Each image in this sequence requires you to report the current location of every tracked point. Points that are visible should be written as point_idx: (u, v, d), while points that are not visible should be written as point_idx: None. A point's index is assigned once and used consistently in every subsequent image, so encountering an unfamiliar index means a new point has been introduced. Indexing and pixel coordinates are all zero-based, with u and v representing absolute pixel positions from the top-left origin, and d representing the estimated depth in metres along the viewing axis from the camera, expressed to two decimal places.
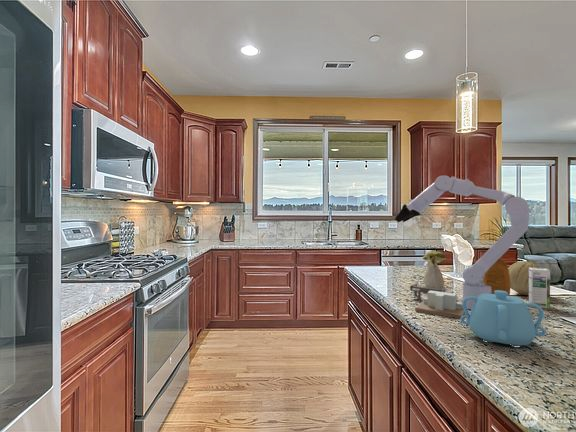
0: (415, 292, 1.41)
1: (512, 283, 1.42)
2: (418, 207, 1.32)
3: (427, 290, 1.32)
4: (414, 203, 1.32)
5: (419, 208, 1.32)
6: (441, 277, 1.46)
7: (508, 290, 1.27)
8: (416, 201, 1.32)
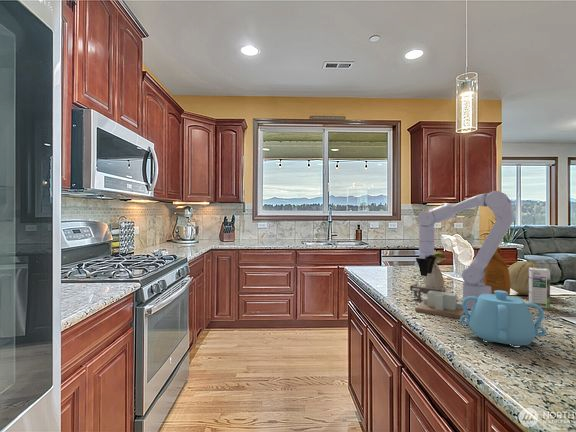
0: (415, 292, 1.41)
1: (512, 283, 1.42)
2: (428, 251, 1.30)
3: (427, 290, 1.32)
4: (422, 251, 1.32)
5: (430, 251, 1.30)
6: (441, 277, 1.46)
7: (508, 290, 1.27)
8: (422, 248, 1.32)
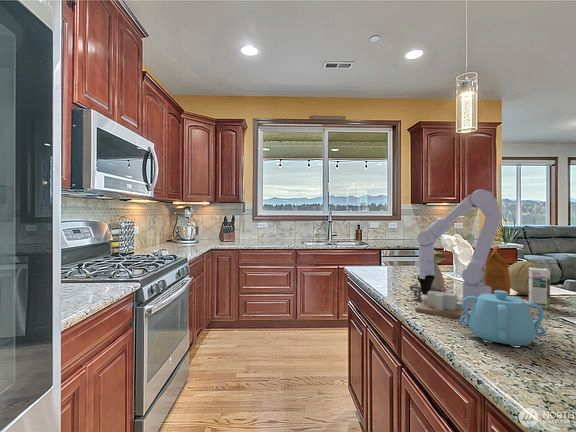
0: (415, 292, 1.41)
1: (512, 283, 1.42)
2: (428, 271, 1.30)
3: None
4: (422, 270, 1.32)
5: (429, 271, 1.30)
6: (441, 277, 1.46)
7: (508, 290, 1.27)
8: (422, 267, 1.32)
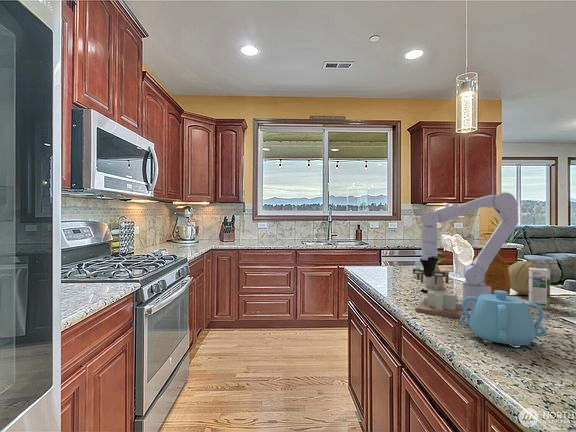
0: (418, 276, 1.37)
1: (512, 283, 1.42)
2: (431, 252, 1.26)
3: None
4: (425, 252, 1.28)
5: (433, 252, 1.26)
6: (441, 277, 1.46)
7: (508, 290, 1.27)
8: (425, 249, 1.28)
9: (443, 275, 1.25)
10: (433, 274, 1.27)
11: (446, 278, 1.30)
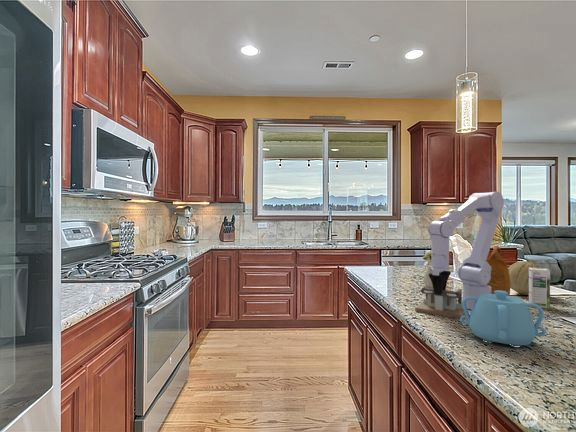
0: None
1: (512, 283, 1.42)
2: (442, 266, 1.14)
3: None
4: (435, 266, 1.15)
5: (444, 266, 1.14)
6: None
7: (508, 290, 1.27)
8: (435, 263, 1.15)
9: (456, 296, 1.12)
10: (445, 294, 1.14)
11: (458, 297, 1.17)
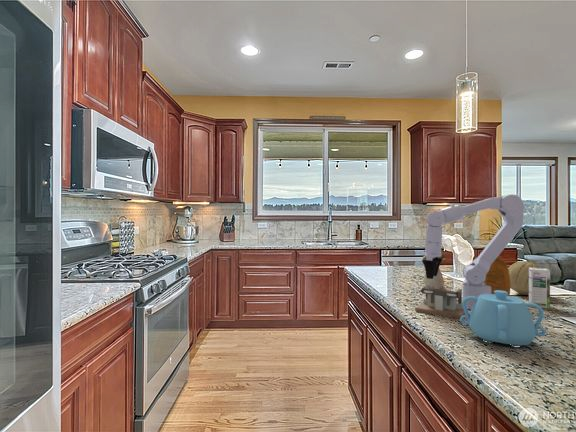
0: None
1: (512, 283, 1.42)
2: (435, 252, 1.25)
3: (441, 293, 1.15)
4: (429, 252, 1.26)
5: (437, 253, 1.25)
6: (441, 277, 1.46)
7: (508, 290, 1.27)
8: (429, 249, 1.26)
9: (456, 296, 1.12)
10: (445, 294, 1.14)
11: (458, 297, 1.17)
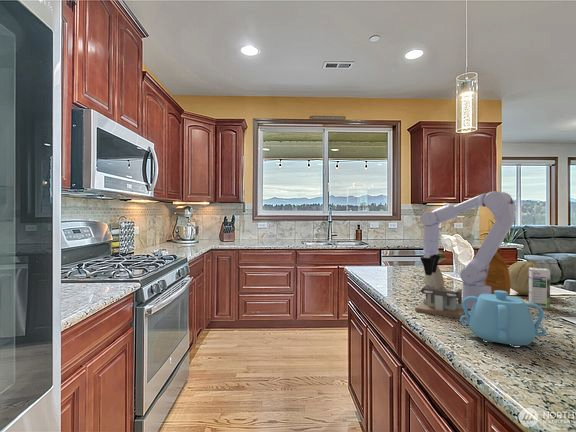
0: None
1: (512, 283, 1.42)
2: (432, 250, 1.32)
3: (441, 293, 1.15)
4: (427, 250, 1.33)
5: (434, 250, 1.32)
6: (441, 277, 1.46)
7: (508, 290, 1.27)
8: (426, 247, 1.33)
9: (456, 296, 1.12)
10: (445, 294, 1.14)
11: (458, 297, 1.17)
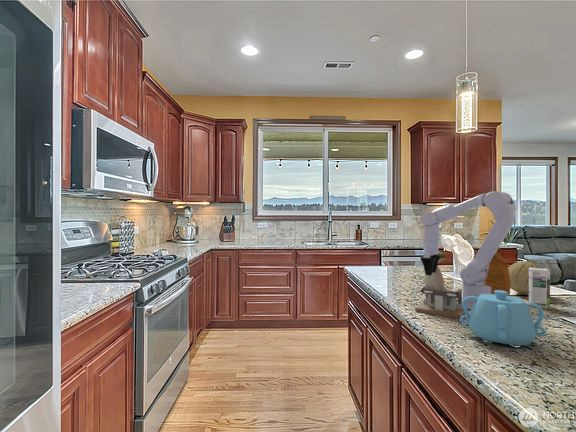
0: None
1: (512, 283, 1.42)
2: (432, 250, 1.32)
3: (441, 293, 1.15)
4: (427, 250, 1.33)
5: (434, 250, 1.32)
6: (441, 277, 1.46)
7: (508, 290, 1.27)
8: (426, 247, 1.33)
9: (456, 296, 1.12)
10: (445, 294, 1.14)
11: (458, 297, 1.17)
